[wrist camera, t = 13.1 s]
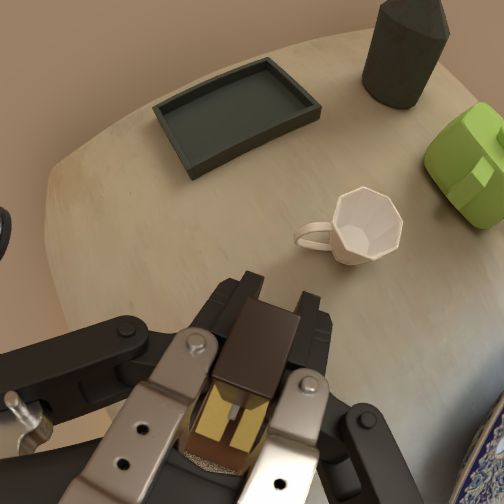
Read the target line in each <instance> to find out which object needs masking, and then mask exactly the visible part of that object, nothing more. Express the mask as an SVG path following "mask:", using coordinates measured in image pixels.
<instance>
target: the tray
mask: <svg viewBox="0 0 504 504" xmlns="http://www.w3.org/2000/svg"><path fill="white" fill-rule="evenodd" d="M321 108H322V106H321V105H320V104H319V103H318V102H317V101H316V100H315V99H314V98H313V97H312V96H311V95H310V94H309V93H308V92H307V91H306V90H305V89H304V88H303V87H301V86H300V85H299V84H298V83H297V82H296V81H295V80H294V79H293V78H292V77H291V76H290V75H288V74H287V73H286V72H285V71H284V70H283V69H282V68H281V67H279V66H278V65H277V64H276V63H275V62H274V61H273V60H271V59H270V58H269V57H266V58H263V59H260V60H257V61H254V62H252V63H249V64H246V65H243V66H241V67H238V68H236V69H233V70H231V71H228V72H226V73H223V74H221V75H218V76H216V77H214V78H211V79H209V80H207V81H204V82H202V83H200V84H198V85H196V86H193V87H191V88H189V89H187V90H185V91H183V92H181V93H179V94H177V95H175V96H173V97H171V98H169V99H167V100H165V101H163V102H161V103H159V104H157V105H156V106H154V107H152V109H153V111H154V113H155V115H156V117H157V119H158V120H159V122H160V124H161V126H162V128H163V129H164V131H165V133H166V135H167V137H168V138H169V140H170V142H171V144H172V146H173V147H174V149H175V151H176V153H177V155H178V156H179V158H180V160H181V162H182V164H183V165H184V167H185V169H186V171H187V173H188V174H189V176H190V178H191V180H194V179H196V178H198V177H200V176H201V175H203V174H205V173H207V172H209V171H211V170H213V169H214V168H216V167H218V166H220V165H222V164H224V163H226V162H228V161H230V160H232V159H234V158H235V157H237V156H239V155H241V154H243V153H245V152H247V151H249V150H251V149H253V148H255V147H258V146H260V145H262V144H264V143H266V142H268V141H270V140H272V139H274V138H276V137H279V136H281V135H283V134H285V133H287V132H290V131H292V130H294V129H296V128H298V127H301V126H303V125H305V124H308V123H310V122H312V121H315V120H317V119H319V118H320V114H321Z"/></svg>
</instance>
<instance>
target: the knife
mask: <svg viewBox="0 0 504 504" xmlns="http://www.w3.org/2000/svg"><path fill="white" fill-rule="evenodd" d="M301 320H302V316H301V315H298V314H295V313H293V312H290V311H287V310H284V309H282V308H279V307H276V306H273V305H271V304H268V303H265V302H263V301H260V300H257V299H255V298H252V297H249V296H247V297H246V298H245V300H244V302H243V304H242V307H241V309H240V311H239V313H238V316H237V318H236V320H235V322H234V325H233V327H232V329H231V331H230V334H229V336H228V338H227V340H226V342H225V345H224V347H223V349H222V351H221V354H220V356H219V358H218V360H217V362H216V365H215V367H214V369H213V371H212V373H211V377H212V379H213V382H214V384H215V386H216V388H217V390H218V392H219V394H220V396H221V398H222V400H224V401H227V402H229V403H232V407H231V409H230V411H229V414H228V416H227V418H228V419H231V420H235V418H236V415H237V413H238V411H239V408H240V407H242V408H245V409H247V410H253V409H255V408H257V407H259V406H261V405H263V404H265V403H266V402H268V401H270V400H272V399H273V397H274V395H275V392H276V390H277V387H278V384H279V382H280V379H281V376H282V374H283V371H284V368H285V365H286V363H287V360H288V357H289V354H290V352H291V349H292V346H293V343H294V340H295V337H296V334H297V332H298V329H299V326H300V323H301Z"/></svg>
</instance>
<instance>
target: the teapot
mask: <svg viewBox="0 0 504 504" xmlns="http://www.w3.org/2000/svg"><path fill="white" fill-rule="evenodd" d="M424 165H425V167H426V169H427V171H428V173H429V174H430V176H431V177H432V179H433V180H434V181H435V183H436V184H437V185H438V187H439V188H440V189H441V191H442V192H443V193H444V195H445V196H446V197H447V198H448V200H449V201H450V202H451V203H452V204H453V205H454V207H455V208H456V209H457V210H458V211H459V212H460V213H461V214H462V215H463V216H464V217H465V218H466V219H467V220H468V221H469V222H470V223H471V224H472V225H473V226H475V227H476V228H480V229H488V228H491V227H492V226H494V225H495V224H497V223H498V222H499V221H501V220H502V219H504V120H503V118H502V117H501V116H499V114H498V113H497V112H496V111H495V110H493V109H492V108H491V107H490V106H489V105H487V104H486V103H484V102H479V103H477V104H476V105H474V106H472V107H471V108H469V109H468V110H466V111H465V112H463V113H462V114H461V115H459V116H458V117H456V118H455V119H454V120H453V121H452V122H450V123H449V124H448V125H447V126H446V127H445V128H444V129H443V130H442V131H441V132H440V133H439V134H438V136H437V137H436V138H435V139H434V140H433V142H432V143H431V144H430V146H429V147H428V148H427V150H426V153H425V158H424Z"/></svg>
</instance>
